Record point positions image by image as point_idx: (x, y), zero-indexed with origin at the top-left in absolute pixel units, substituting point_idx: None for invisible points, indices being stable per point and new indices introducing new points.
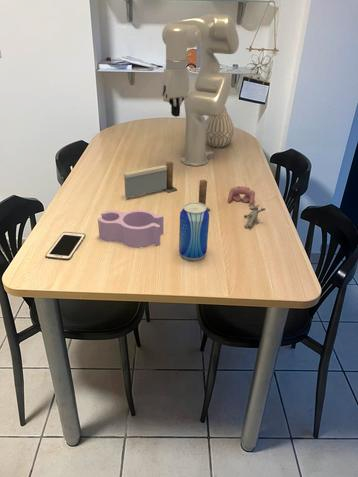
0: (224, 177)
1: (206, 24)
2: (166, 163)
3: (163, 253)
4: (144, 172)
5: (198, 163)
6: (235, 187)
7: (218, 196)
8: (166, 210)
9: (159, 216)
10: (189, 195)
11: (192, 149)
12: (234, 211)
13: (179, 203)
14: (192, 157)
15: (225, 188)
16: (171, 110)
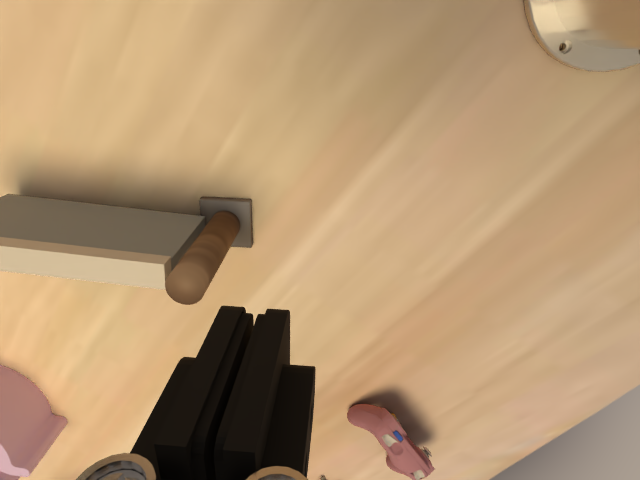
0: (530, 258)
1: None
2: (166, 280)
3: (35, 473)
4: (29, 270)
5: (573, 59)
6: (387, 445)
7: (358, 362)
8: (133, 339)
9: (16, 472)
10: (271, 302)
11: (609, 10)
12: (323, 446)
13: (200, 327)
14: (576, 17)
15: (435, 334)
16: (167, 389)
